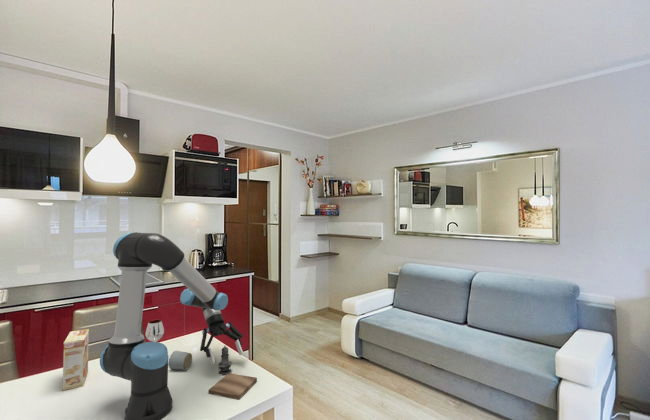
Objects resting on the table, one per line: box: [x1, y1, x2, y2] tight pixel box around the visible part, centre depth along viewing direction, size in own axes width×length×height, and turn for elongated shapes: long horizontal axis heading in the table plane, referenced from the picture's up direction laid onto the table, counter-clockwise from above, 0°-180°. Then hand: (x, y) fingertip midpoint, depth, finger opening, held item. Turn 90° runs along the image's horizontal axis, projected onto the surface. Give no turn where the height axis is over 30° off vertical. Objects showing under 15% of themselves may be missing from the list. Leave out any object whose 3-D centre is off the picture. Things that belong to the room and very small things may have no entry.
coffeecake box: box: [62, 328, 90, 392], centre depth 135 cm, size 15×7×20 cm, turn 31°
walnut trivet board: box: [207, 372, 258, 400], centre depth 130 cm, size 14×14×2 cm
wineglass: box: [144, 319, 165, 342], centre depth 156 cm, size 8×8×18 cm
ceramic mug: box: [168, 350, 193, 370], centre depth 147 cm, size 11×8×8 cm
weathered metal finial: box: [217, 345, 233, 376], centre depth 142 cm, size 6×6×12 cm
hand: (227, 358), depth 142 cm, fingers open, 13 cm apart
